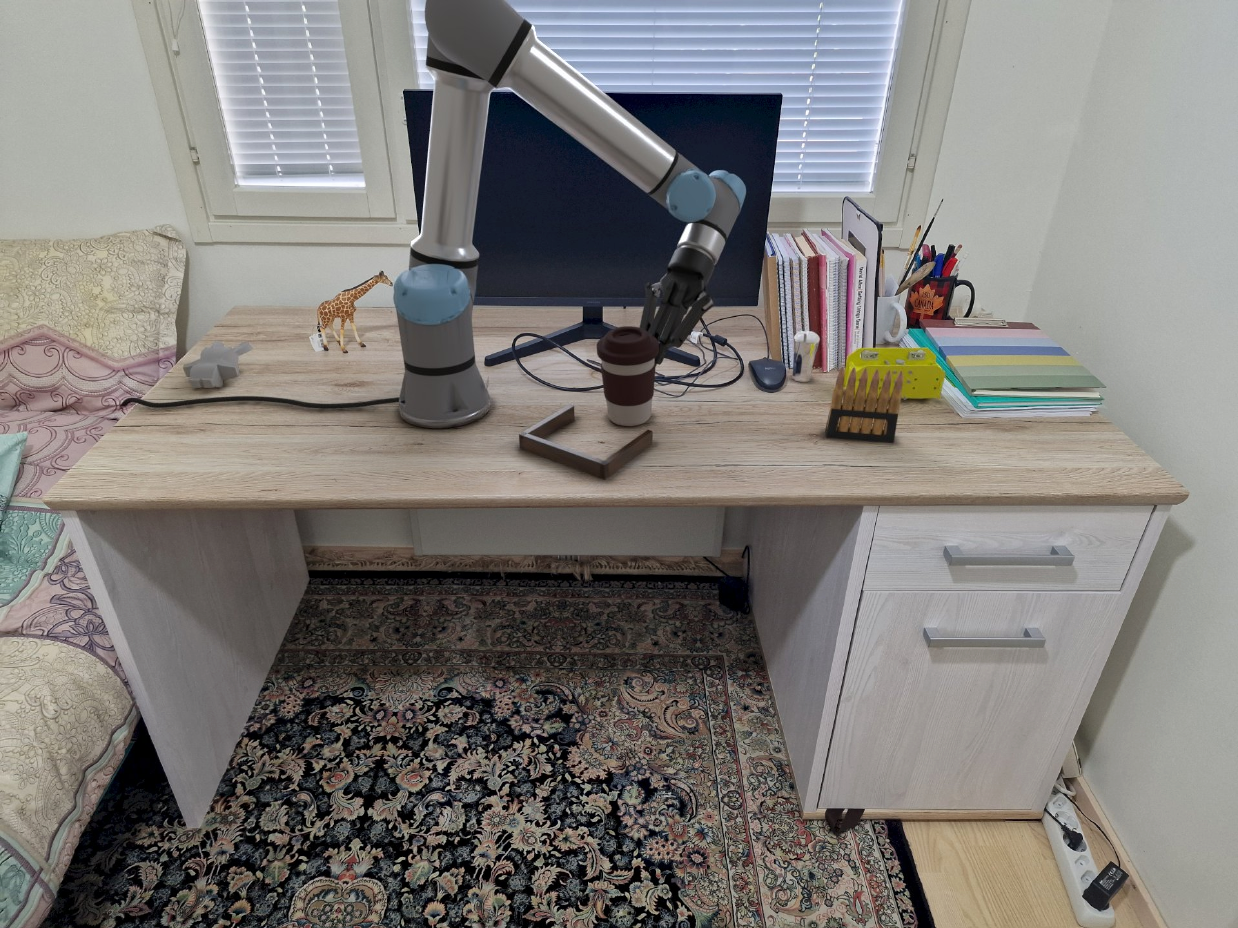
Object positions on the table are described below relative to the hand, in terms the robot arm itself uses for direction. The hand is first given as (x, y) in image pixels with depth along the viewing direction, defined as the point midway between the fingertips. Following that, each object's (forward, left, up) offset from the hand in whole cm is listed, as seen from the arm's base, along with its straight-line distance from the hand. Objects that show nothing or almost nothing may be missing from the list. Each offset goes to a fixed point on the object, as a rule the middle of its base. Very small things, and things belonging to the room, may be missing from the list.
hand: (642, 378), depth 128 cm
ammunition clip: (+36, +3, -6) cm, 37 cm away
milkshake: (+24, +23, -6) cm, 34 cm away
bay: (-4, -15, -6) cm, 16 cm away
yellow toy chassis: (+40, +21, -6) cm, 46 cm away
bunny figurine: (-78, -13, -6) cm, 80 cm away
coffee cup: (-1, -3, -6) cm, 7 cm away
